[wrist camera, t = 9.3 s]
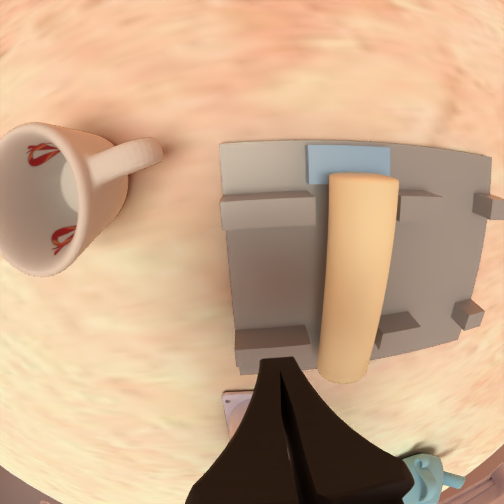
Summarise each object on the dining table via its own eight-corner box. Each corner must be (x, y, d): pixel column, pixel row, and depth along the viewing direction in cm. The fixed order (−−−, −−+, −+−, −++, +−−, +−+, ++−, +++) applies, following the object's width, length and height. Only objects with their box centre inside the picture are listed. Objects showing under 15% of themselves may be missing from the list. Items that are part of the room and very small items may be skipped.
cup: (164, 92, 16) (115, 63, 9) (195, 204, 19) (166, 242, 12) (41, 151, 17) (-31, 164, 10) (71, 245, 20) (10, 291, 12)
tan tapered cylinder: (360, 345, 22) (372, 380, 19) (314, 349, 23) (320, 386, 19) (383, 172, 17) (411, 186, 13) (323, 171, 17) (338, 184, 13)
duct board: (452, 334, 24) (469, 353, 21) (240, 367, 24) (240, 395, 21) (484, 156, 18) (510, 160, 15) (220, 144, 18) (215, 143, 15)
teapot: (373, 454, 32) (395, 522, 20) (471, 419, 32) (501, 469, 21) (344, 498, 39) (356, 548, 27) (429, 472, 39) (447, 514, 27)
